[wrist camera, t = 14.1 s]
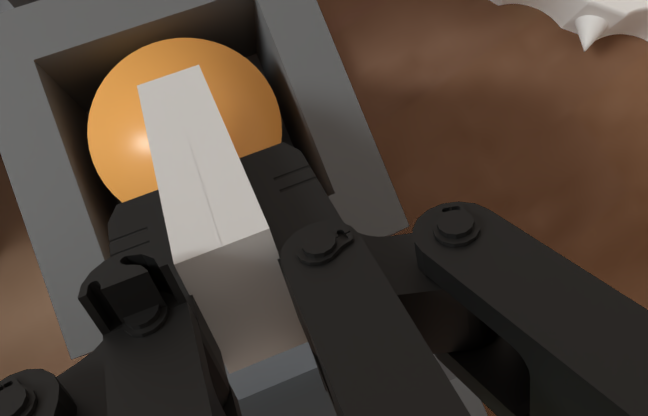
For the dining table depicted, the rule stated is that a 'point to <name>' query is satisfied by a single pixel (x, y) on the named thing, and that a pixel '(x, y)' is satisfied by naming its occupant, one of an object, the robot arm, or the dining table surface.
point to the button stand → (99, 203)
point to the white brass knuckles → (593, 16)
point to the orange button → (127, 118)
